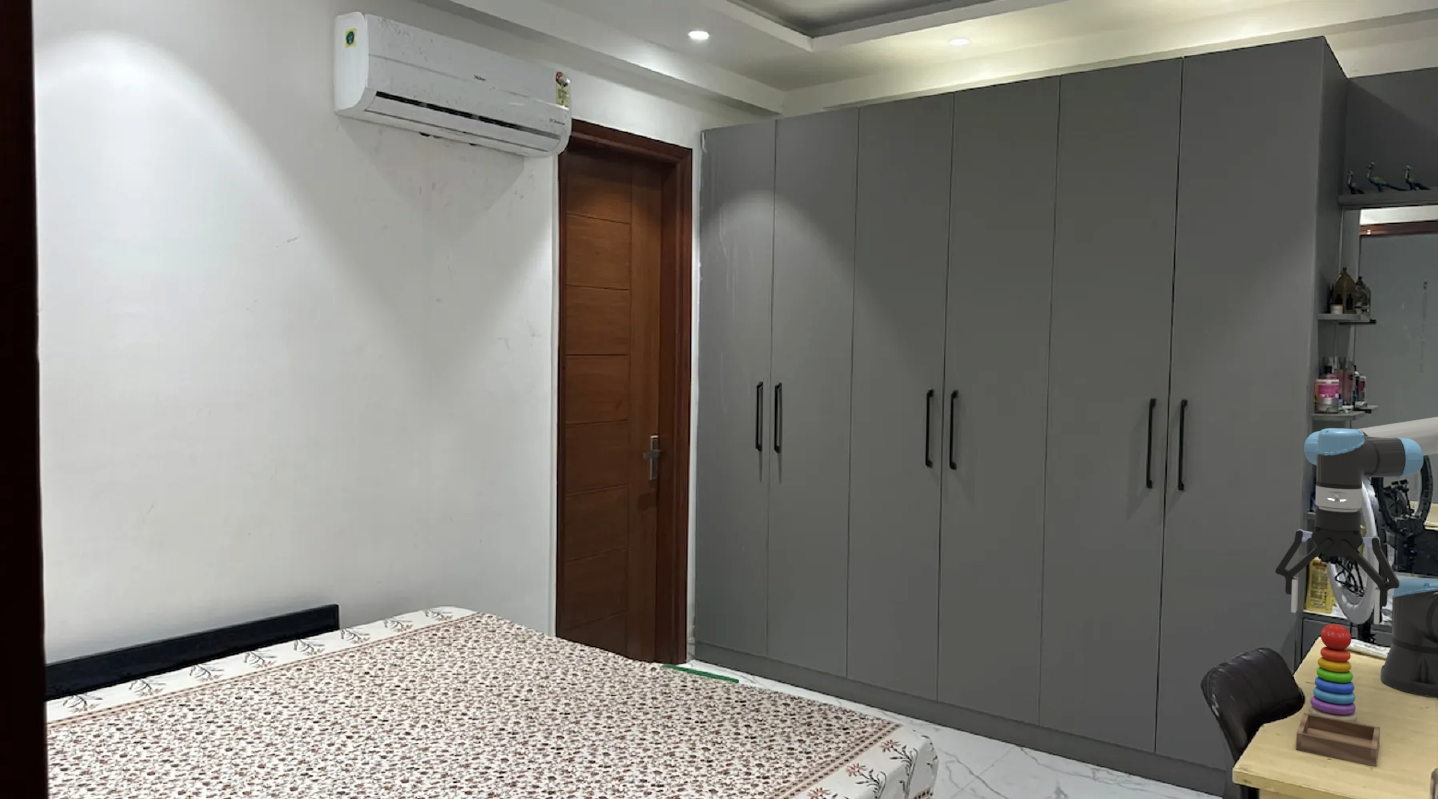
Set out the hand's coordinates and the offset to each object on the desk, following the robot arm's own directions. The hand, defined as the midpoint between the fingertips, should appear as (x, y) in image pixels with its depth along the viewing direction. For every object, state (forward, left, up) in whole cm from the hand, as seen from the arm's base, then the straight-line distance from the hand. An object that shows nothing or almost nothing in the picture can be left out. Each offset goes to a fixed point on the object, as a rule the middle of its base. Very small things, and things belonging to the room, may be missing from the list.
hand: (1334, 616), depth 189 cm
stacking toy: (0, 0, -20) cm, 20 cm away
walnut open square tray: (+9, +12, -20) cm, 25 cm away
